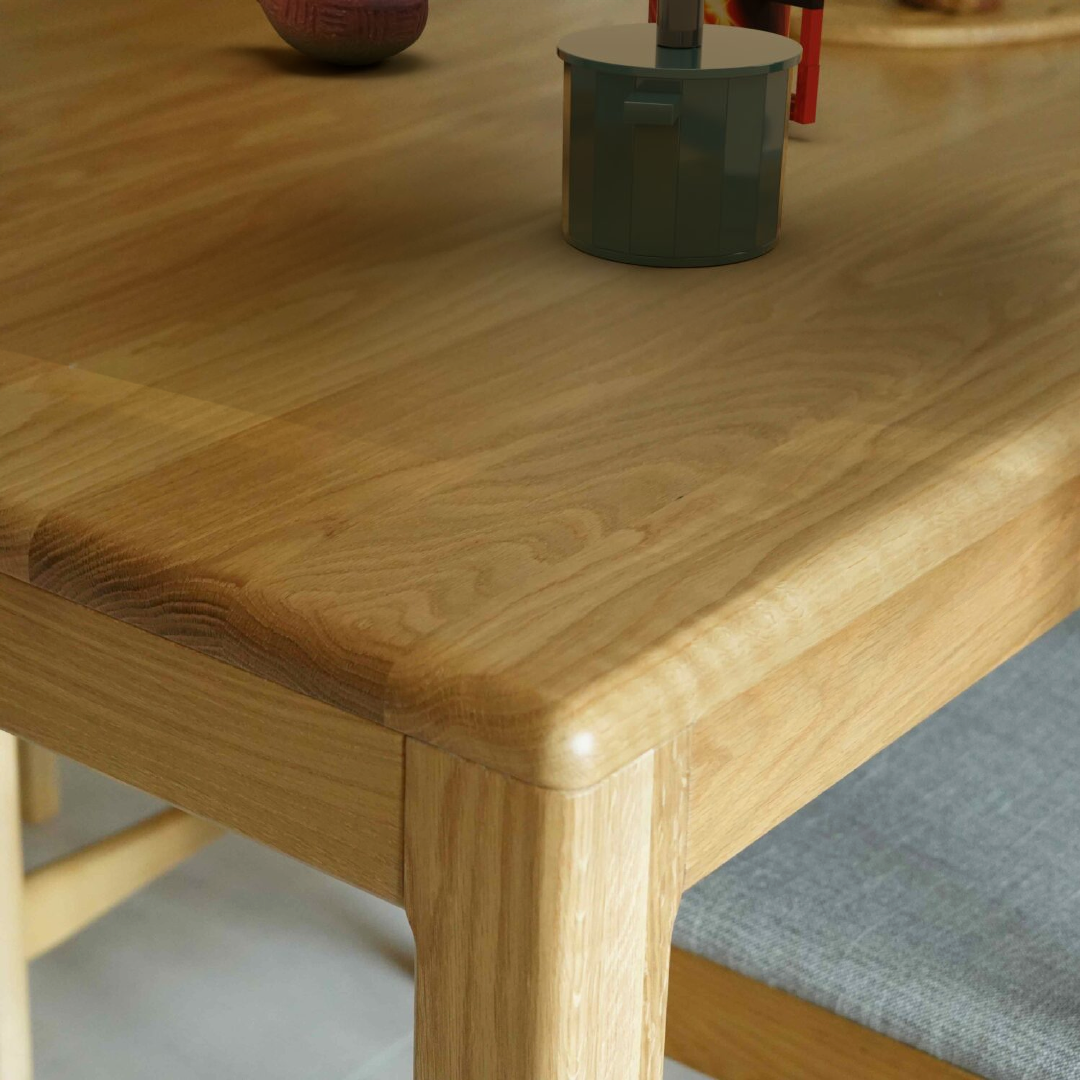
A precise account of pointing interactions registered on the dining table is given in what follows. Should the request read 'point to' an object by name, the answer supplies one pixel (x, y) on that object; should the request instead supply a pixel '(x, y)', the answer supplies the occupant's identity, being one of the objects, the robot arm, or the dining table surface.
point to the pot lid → (679, 47)
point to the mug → (768, 8)
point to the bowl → (348, 27)
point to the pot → (673, 166)
